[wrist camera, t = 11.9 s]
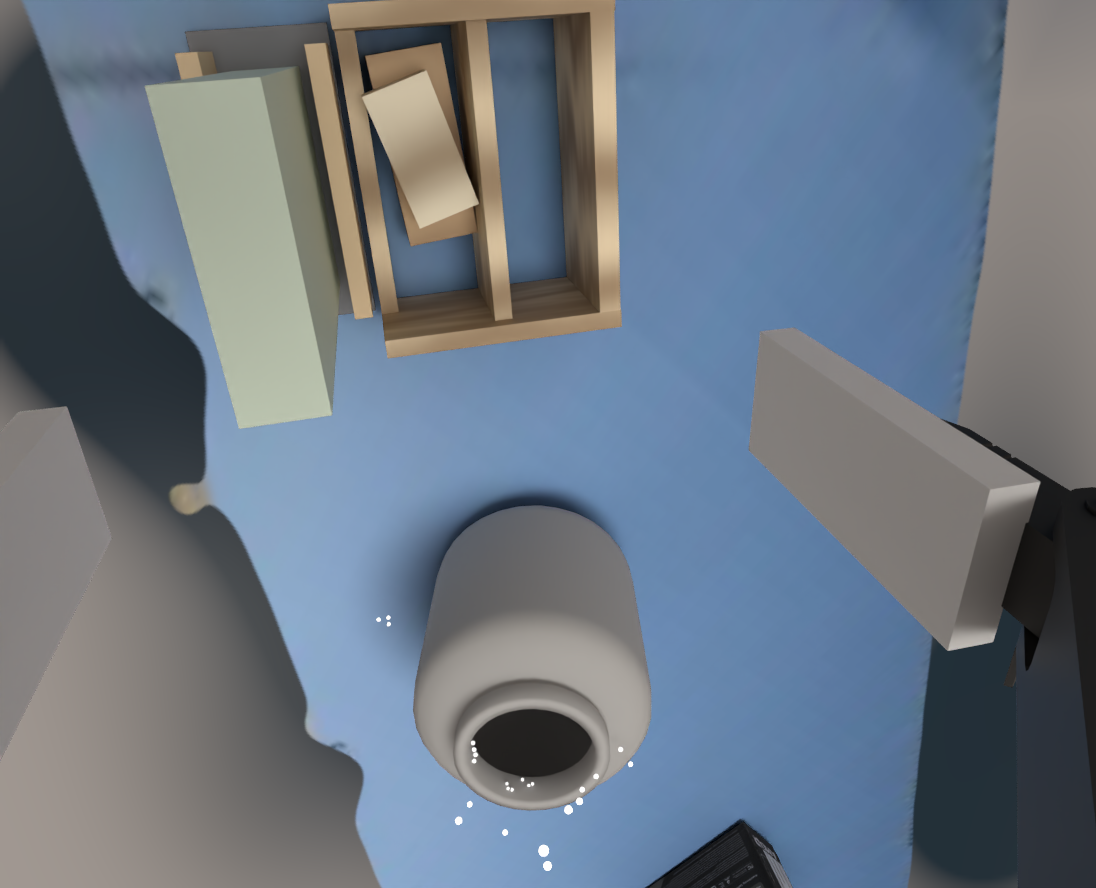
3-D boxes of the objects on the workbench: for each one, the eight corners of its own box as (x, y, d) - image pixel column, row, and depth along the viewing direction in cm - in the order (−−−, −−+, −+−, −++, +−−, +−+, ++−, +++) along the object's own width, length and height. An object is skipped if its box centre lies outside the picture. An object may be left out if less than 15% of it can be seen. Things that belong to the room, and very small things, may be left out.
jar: (380, 658, 62) (394, 989, 40) (369, 498, 55) (379, 788, 34) (607, 632, 66) (732, 920, 44) (622, 480, 59) (778, 728, 38)
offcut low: (364, 55, 43) (365, 56, 40) (434, 43, 44) (440, 42, 41) (407, 233, 48) (410, 246, 45) (470, 220, 49) (478, 232, 46)
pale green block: (232, 71, 42) (144, 85, 24) (299, 65, 42) (260, 77, 25) (281, 289, 47) (239, 428, 30) (340, 282, 48) (332, 415, 30)
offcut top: (361, 94, 41) (361, 97, 39) (422, 69, 41) (426, 70, 39) (416, 220, 45) (419, 228, 42) (472, 196, 45) (479, 203, 43)
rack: (332, 11, 42) (327, 3, 35) (573, -4, 44) (614, -14, 37) (383, 315, 50) (387, 358, 43) (585, 289, 52) (621, 326, 45)
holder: (186, 31, 41) (166, 29, 37) (326, 22, 42) (323, 19, 38) (258, 323, 48) (248, 350, 44) (375, 308, 49) (377, 333, 45)
